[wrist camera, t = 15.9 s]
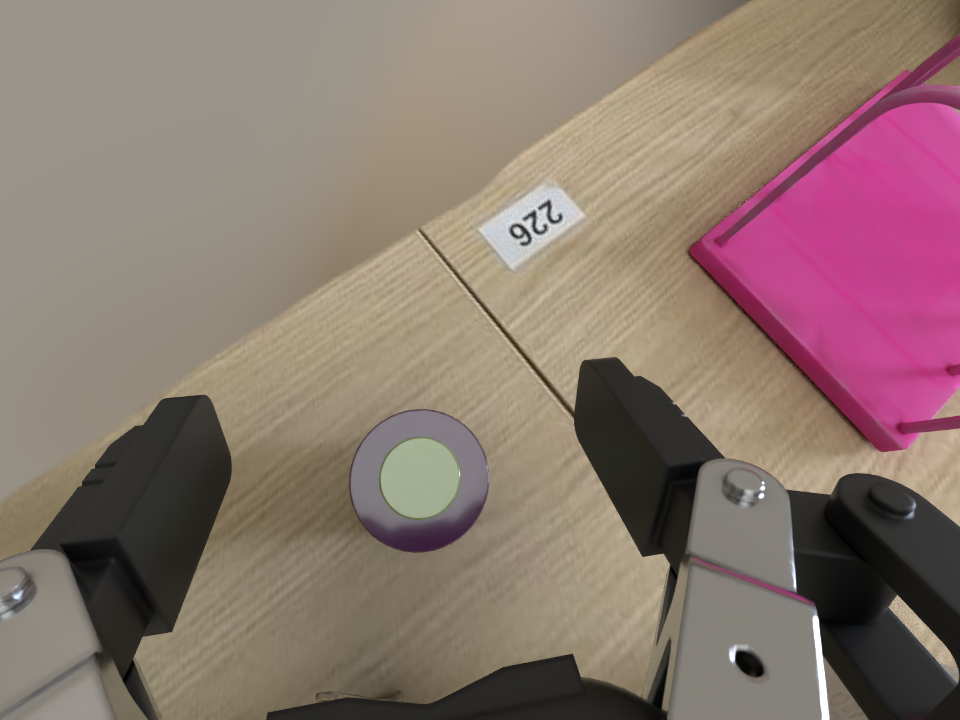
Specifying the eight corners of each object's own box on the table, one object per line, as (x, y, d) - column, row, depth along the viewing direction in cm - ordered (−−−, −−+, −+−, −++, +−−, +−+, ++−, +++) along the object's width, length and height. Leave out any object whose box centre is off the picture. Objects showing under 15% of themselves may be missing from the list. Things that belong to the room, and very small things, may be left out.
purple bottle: (392, 541, 25) (369, 583, 14) (365, 454, 26) (324, 431, 15) (476, 508, 26) (515, 523, 15) (448, 425, 27) (465, 384, 16)
